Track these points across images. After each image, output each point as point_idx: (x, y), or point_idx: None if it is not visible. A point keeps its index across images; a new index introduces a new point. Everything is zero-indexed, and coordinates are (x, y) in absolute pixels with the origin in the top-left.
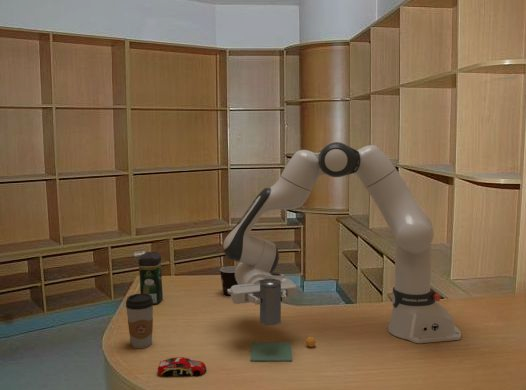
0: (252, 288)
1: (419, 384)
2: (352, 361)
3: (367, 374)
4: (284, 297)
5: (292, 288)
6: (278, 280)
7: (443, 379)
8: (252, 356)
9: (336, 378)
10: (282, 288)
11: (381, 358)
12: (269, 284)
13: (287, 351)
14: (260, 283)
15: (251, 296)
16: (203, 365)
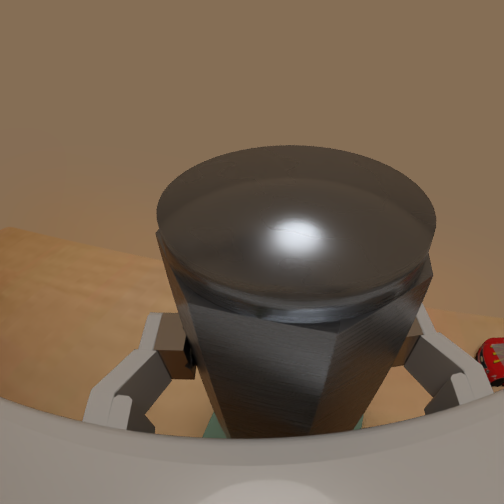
0: (476, 478)
1: (72, 243)
2: (87, 330)
3: (106, 281)
4: (170, 314)
5: (15, 403)
6: (173, 204)
7: (39, 246)
8: (354, 429)
9: (169, 284)
10: (93, 424)
11: (36, 320)
12: (323, 153)
13: (219, 435)
14: (421, 201)
15: (459, 349)
16: (487, 351)
